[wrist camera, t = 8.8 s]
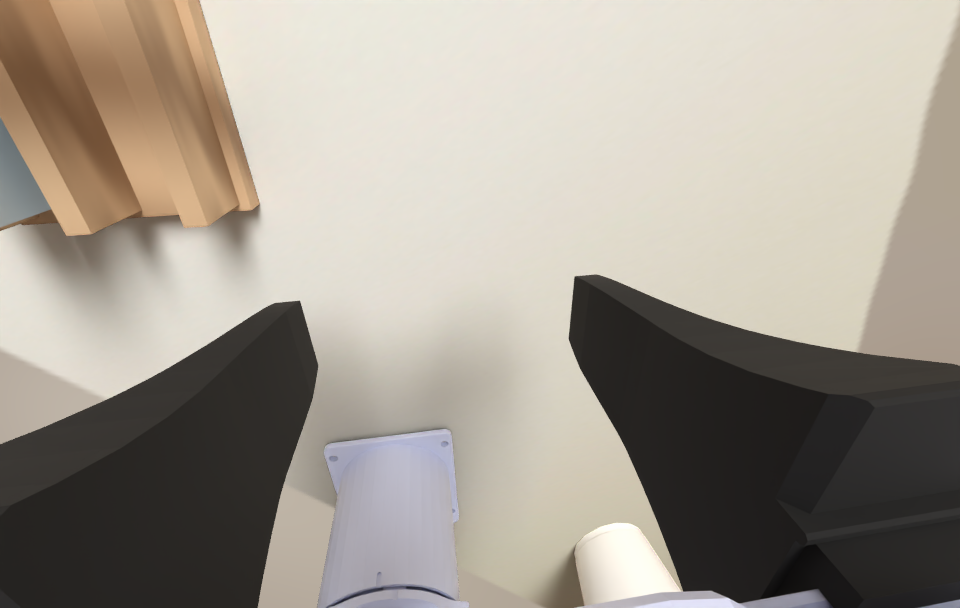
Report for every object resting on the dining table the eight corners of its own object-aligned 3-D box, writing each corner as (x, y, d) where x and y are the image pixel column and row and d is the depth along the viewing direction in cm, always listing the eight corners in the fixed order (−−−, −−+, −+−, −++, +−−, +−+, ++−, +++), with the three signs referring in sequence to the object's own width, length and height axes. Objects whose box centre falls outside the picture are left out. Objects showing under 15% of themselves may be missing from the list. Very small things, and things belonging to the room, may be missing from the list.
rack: (259, 203, 18) (222, 233, 15) (42, 217, 17) (-53, 252, 14) (180, -61, 14) (101, -108, 10) (-119, -62, 13) (-318, -114, 9)
